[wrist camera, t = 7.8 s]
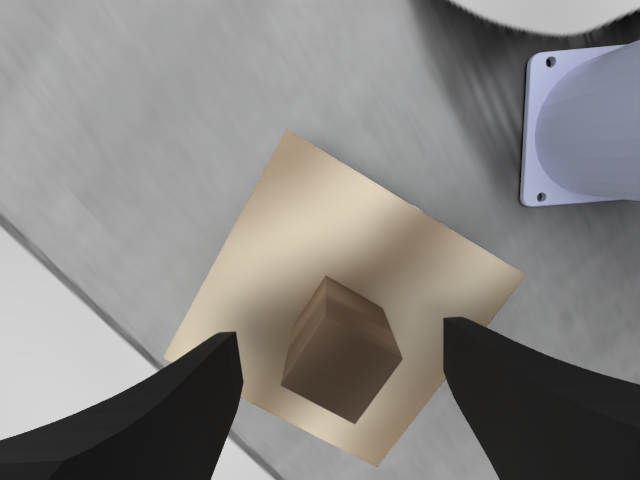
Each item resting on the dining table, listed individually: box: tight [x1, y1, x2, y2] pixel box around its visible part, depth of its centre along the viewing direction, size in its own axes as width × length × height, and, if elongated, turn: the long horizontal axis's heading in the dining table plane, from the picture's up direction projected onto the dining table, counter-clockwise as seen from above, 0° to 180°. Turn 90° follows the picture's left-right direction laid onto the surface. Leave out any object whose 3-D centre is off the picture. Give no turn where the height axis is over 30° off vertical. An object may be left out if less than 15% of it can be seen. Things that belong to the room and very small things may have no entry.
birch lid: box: [163, 129, 526, 467], centre depth 13 cm, size 12×12×5 cm
